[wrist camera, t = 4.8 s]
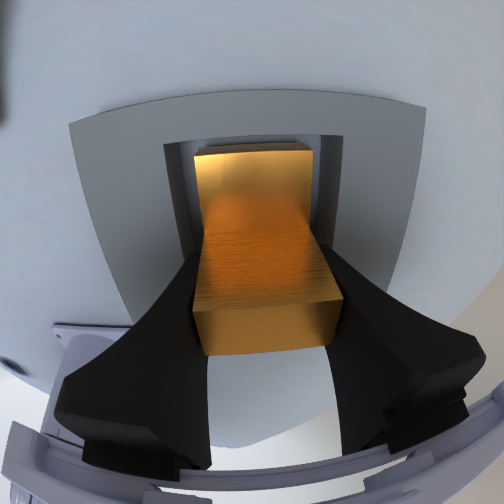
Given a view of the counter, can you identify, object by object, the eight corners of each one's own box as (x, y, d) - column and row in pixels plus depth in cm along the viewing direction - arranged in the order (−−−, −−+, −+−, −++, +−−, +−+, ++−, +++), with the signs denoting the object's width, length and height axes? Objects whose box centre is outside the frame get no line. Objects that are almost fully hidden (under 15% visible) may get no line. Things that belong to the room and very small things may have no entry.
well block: (365, 275, 15) (381, 304, 13) (144, 291, 15) (134, 324, 13) (393, 100, 10) (426, 107, 7) (97, 114, 9) (68, 124, 7)
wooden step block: (298, 250, 13) (331, 344, 8) (212, 256, 13) (205, 355, 8) (302, 142, 10) (363, 193, 5) (199, 147, 10) (168, 203, 5)
